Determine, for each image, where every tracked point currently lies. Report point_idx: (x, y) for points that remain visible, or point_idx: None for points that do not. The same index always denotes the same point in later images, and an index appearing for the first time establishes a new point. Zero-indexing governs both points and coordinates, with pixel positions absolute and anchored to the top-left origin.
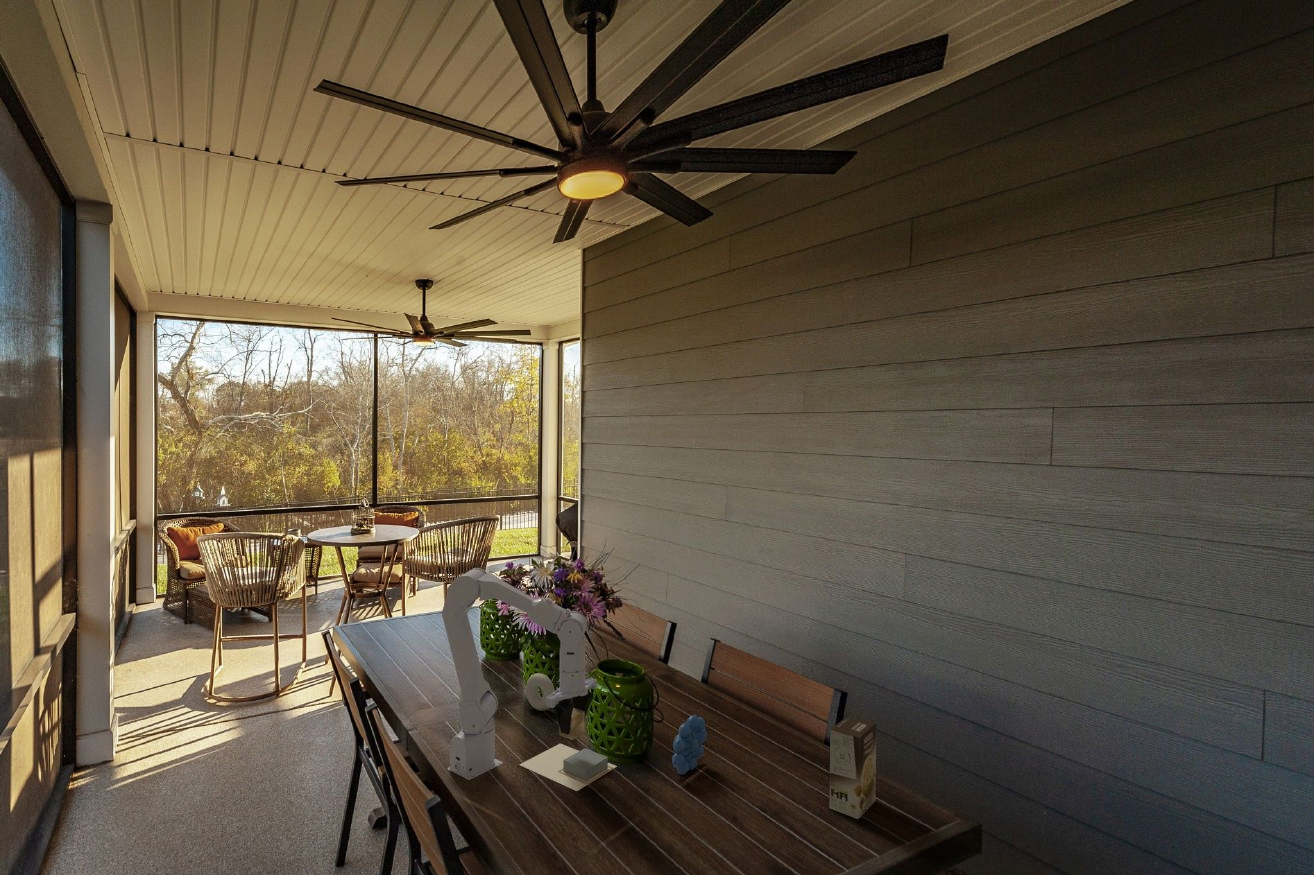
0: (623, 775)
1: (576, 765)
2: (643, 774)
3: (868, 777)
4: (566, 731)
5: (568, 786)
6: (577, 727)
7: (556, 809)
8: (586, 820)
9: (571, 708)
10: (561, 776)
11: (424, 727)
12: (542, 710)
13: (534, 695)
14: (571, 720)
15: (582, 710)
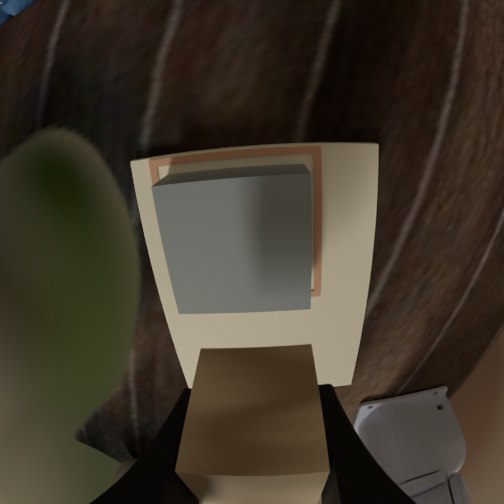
0: (147, 105)
1: (310, 239)
2: (94, 64)
3: None
4: (336, 400)
5: (374, 192)
6: (264, 395)
7: (467, 139)
8: (449, 23)
9: None
10: (336, 263)
11: (321, 497)
12: None
13: None
14: (327, 452)
15: (177, 479)
